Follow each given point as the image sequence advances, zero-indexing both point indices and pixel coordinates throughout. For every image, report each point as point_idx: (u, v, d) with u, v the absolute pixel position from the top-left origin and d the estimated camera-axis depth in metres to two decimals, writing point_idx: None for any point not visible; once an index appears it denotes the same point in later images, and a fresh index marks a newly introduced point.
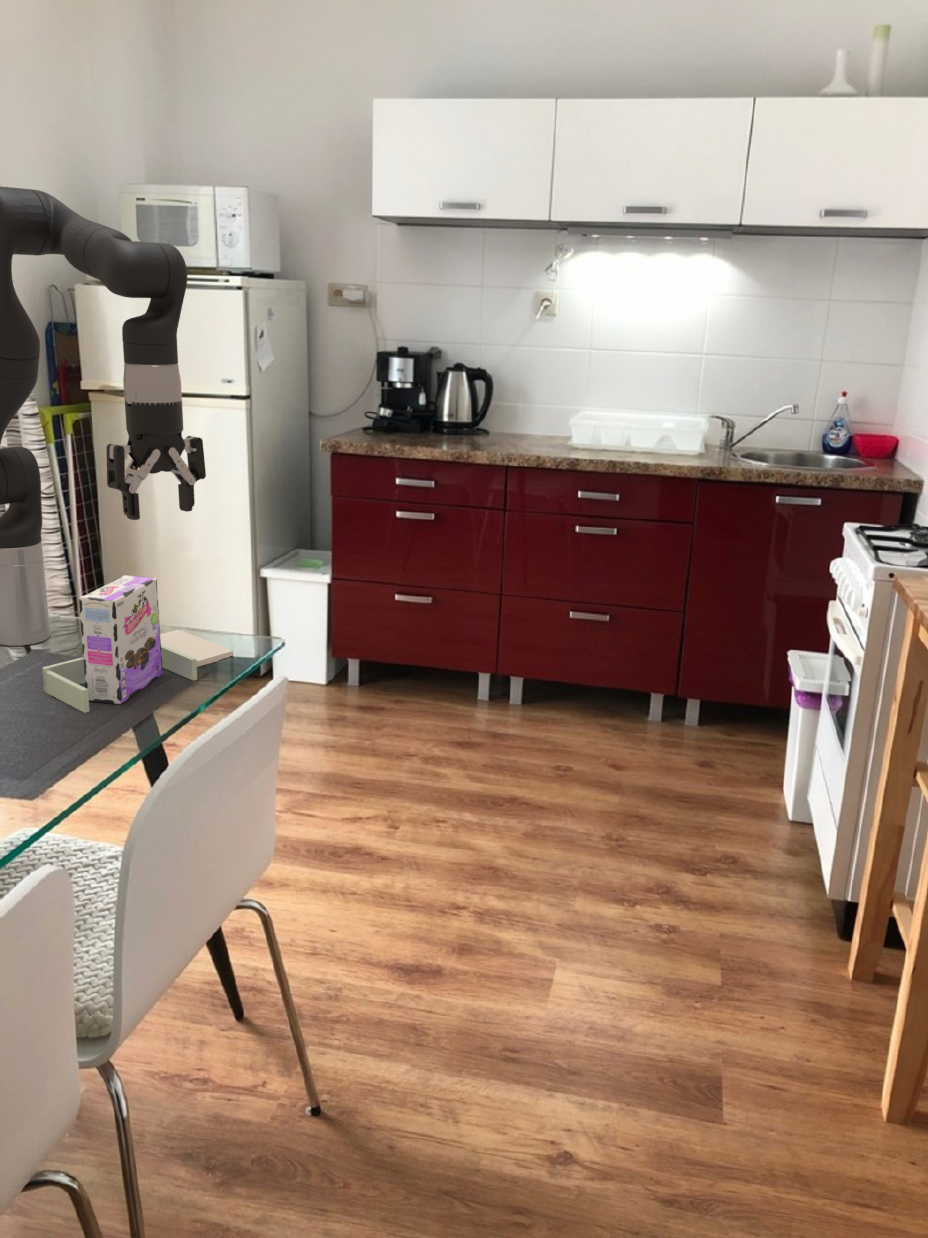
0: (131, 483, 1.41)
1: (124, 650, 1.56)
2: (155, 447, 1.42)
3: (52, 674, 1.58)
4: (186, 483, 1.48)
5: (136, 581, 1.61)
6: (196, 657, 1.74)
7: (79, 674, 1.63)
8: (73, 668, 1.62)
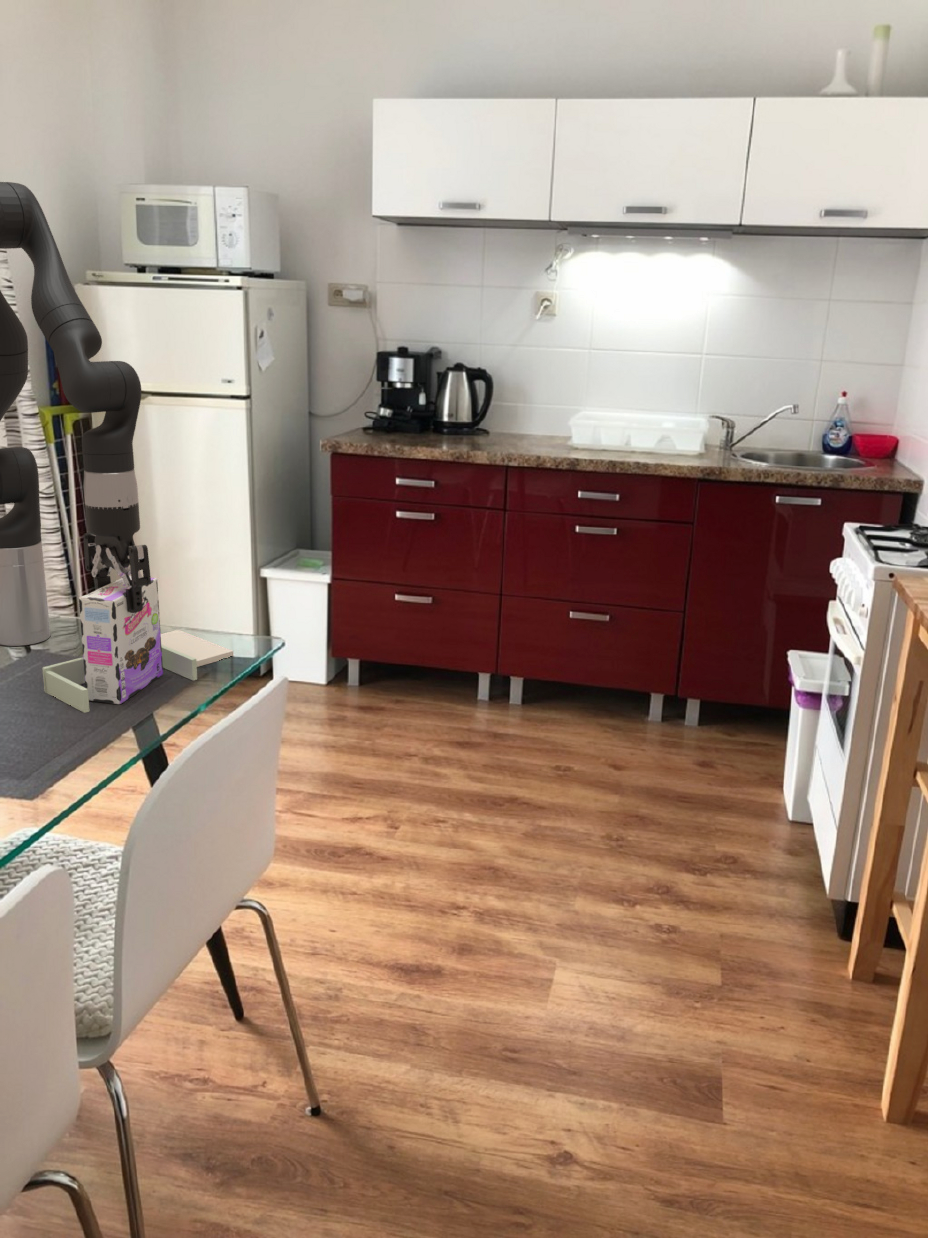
0: (141, 577, 1.55)
1: (124, 650, 1.56)
2: None
3: (52, 674, 1.58)
4: (106, 574, 1.60)
5: None
6: (196, 657, 1.74)
7: (79, 674, 1.63)
8: (73, 668, 1.62)
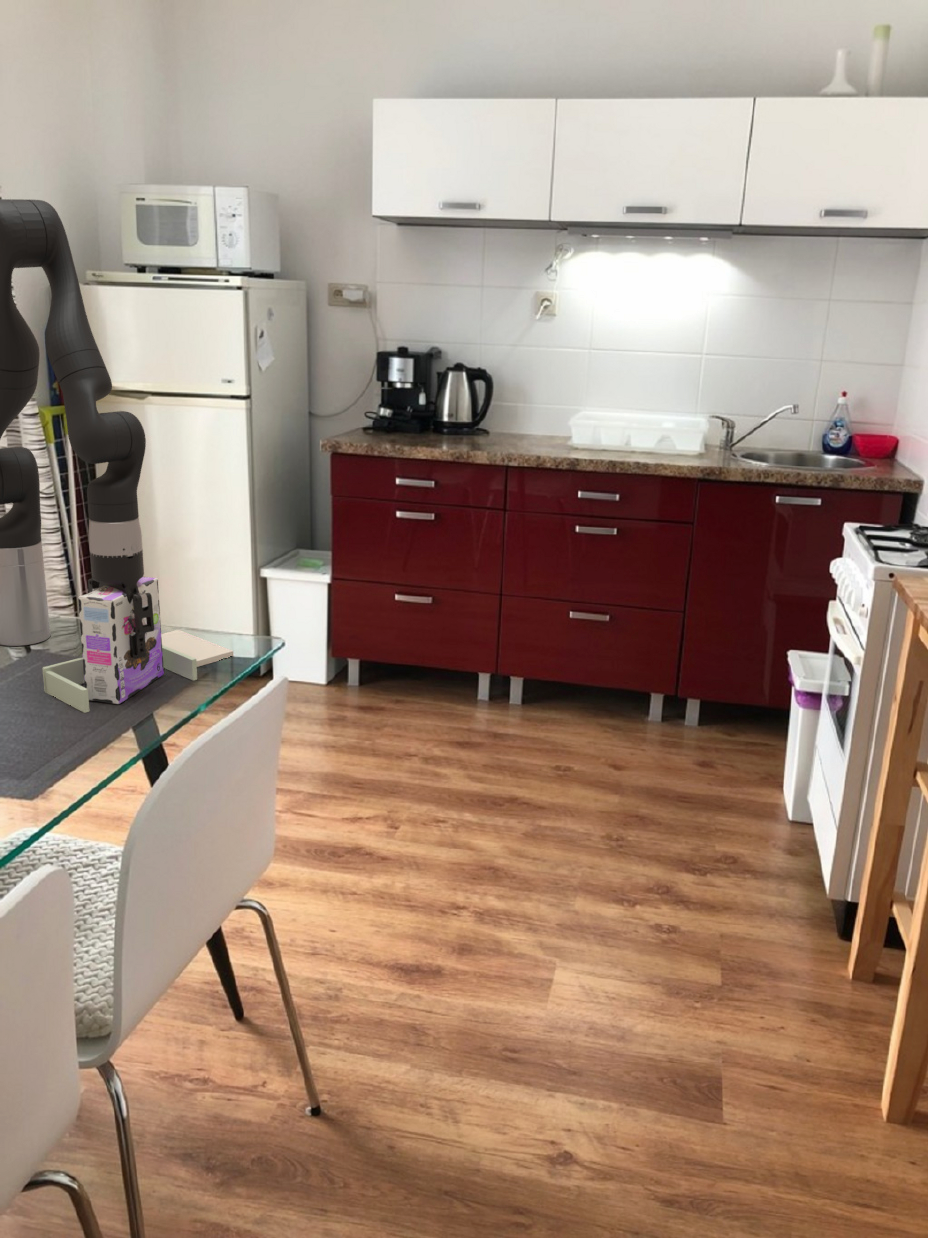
0: (145, 624, 1.57)
1: (123, 650, 1.56)
2: None
3: (52, 674, 1.58)
4: None
5: None
6: (196, 657, 1.74)
7: (79, 674, 1.63)
8: (73, 668, 1.62)
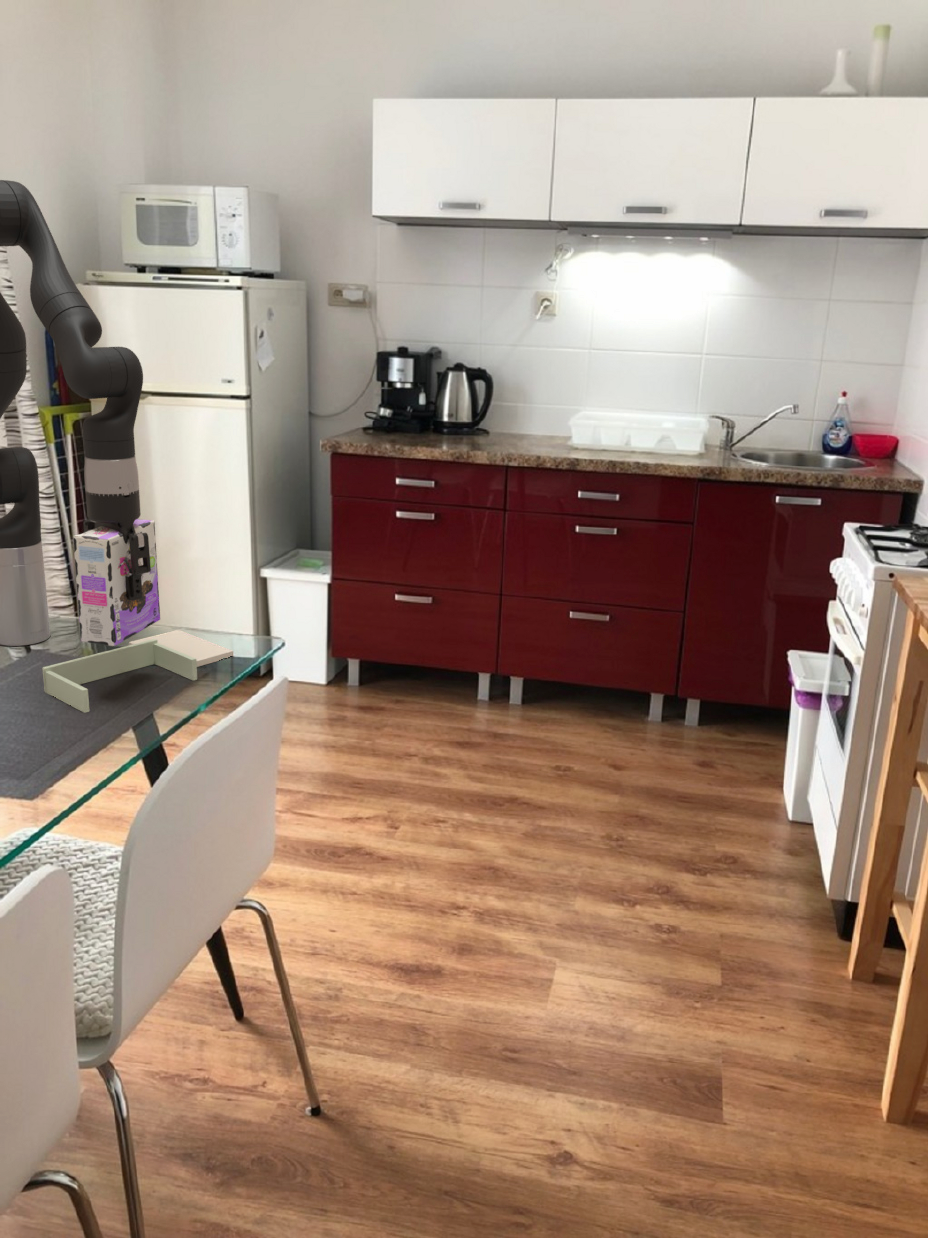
0: (141, 565, 1.55)
1: (119, 591, 1.53)
2: None
3: (52, 674, 1.58)
4: None
5: (133, 523, 1.58)
6: (196, 657, 1.74)
7: (79, 674, 1.63)
8: (73, 668, 1.62)
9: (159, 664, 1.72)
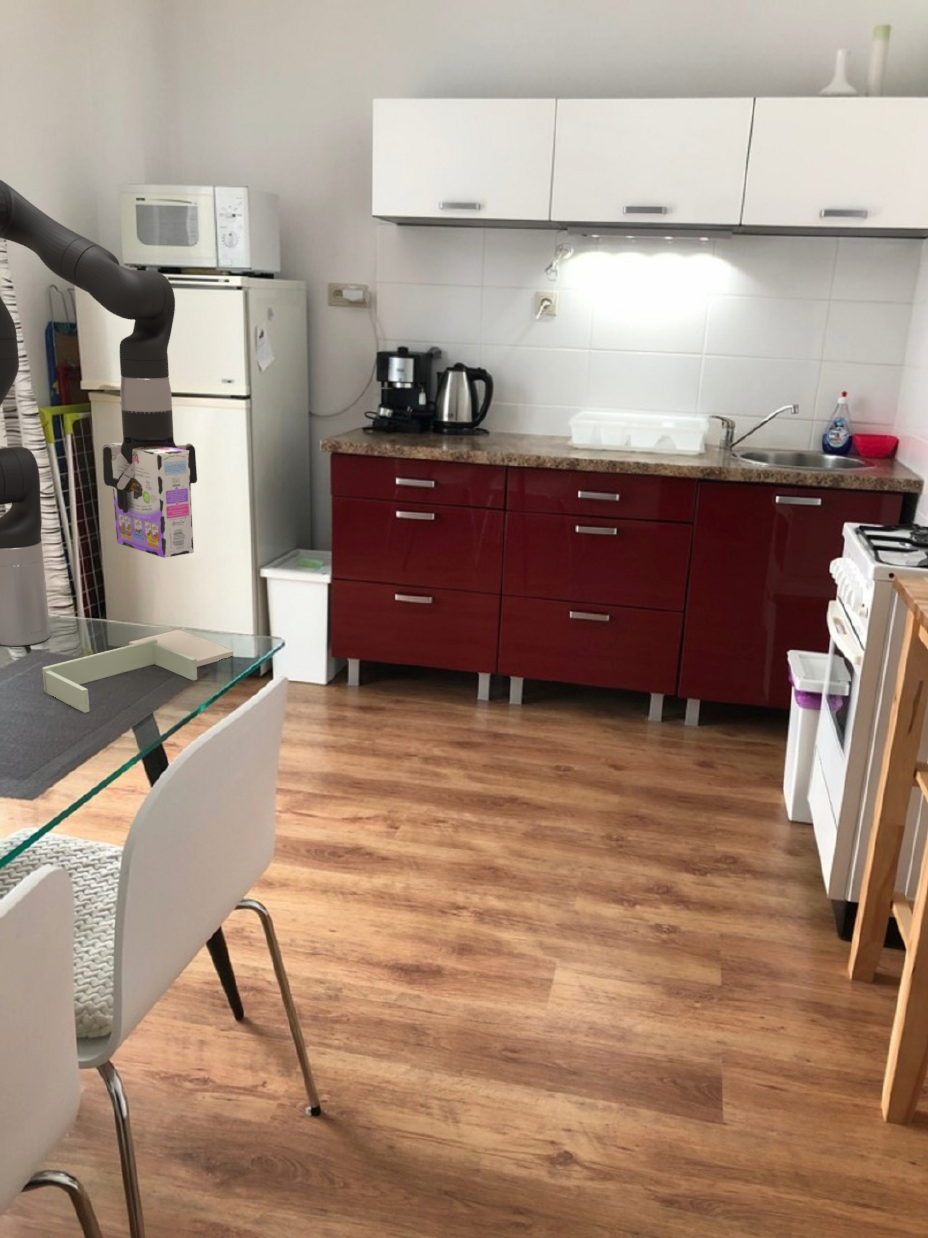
0: None
1: None
2: None
3: (52, 674, 1.58)
4: None
5: None
6: (196, 657, 1.74)
7: (79, 674, 1.63)
8: (73, 668, 1.62)
9: (159, 664, 1.72)
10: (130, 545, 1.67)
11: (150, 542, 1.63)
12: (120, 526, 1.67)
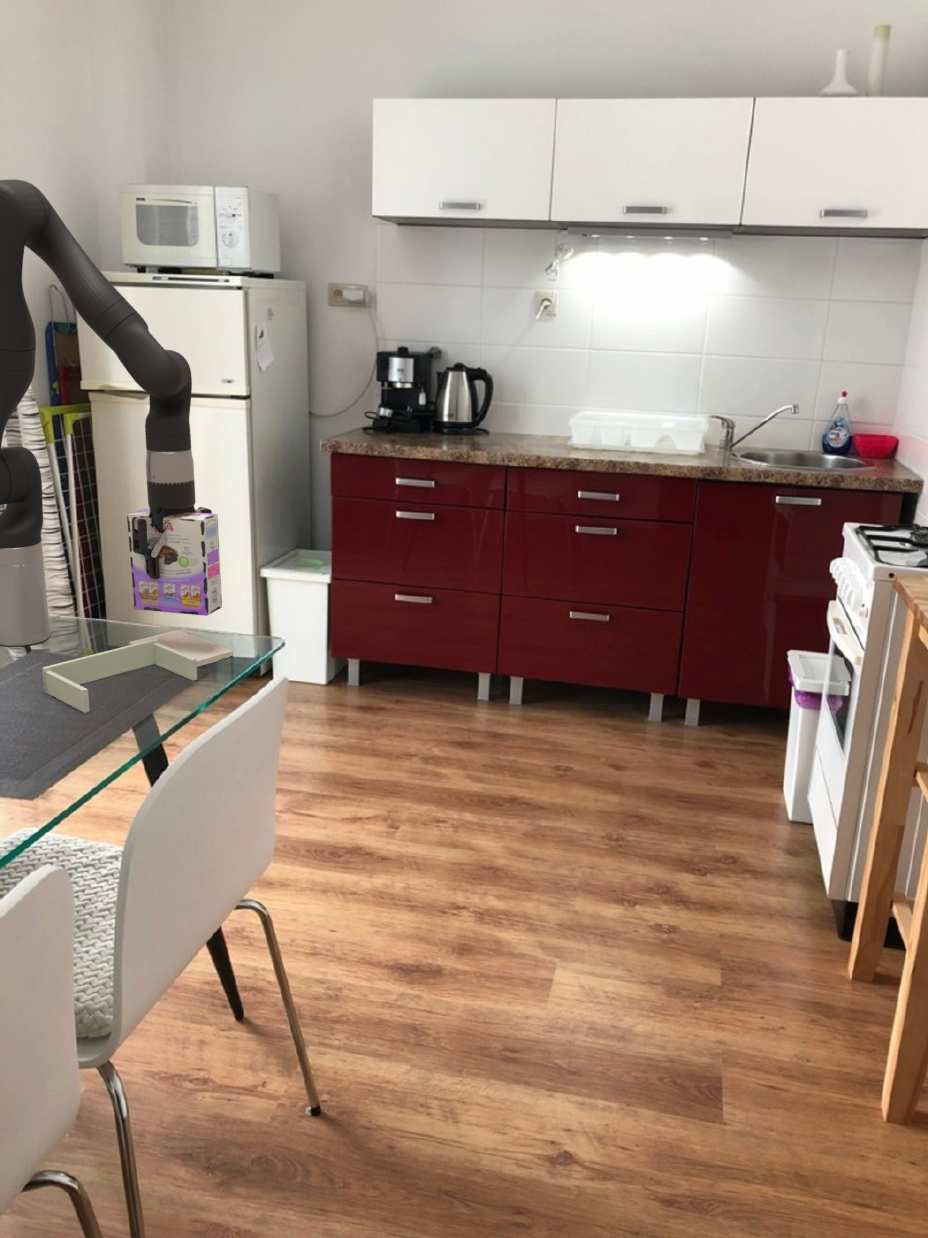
0: None
1: None
2: None
3: (52, 674, 1.58)
4: None
5: None
6: (196, 657, 1.74)
7: (79, 674, 1.63)
8: (73, 668, 1.62)
9: (159, 664, 1.72)
10: (156, 609, 1.74)
11: (188, 603, 1.73)
12: (141, 592, 1.74)
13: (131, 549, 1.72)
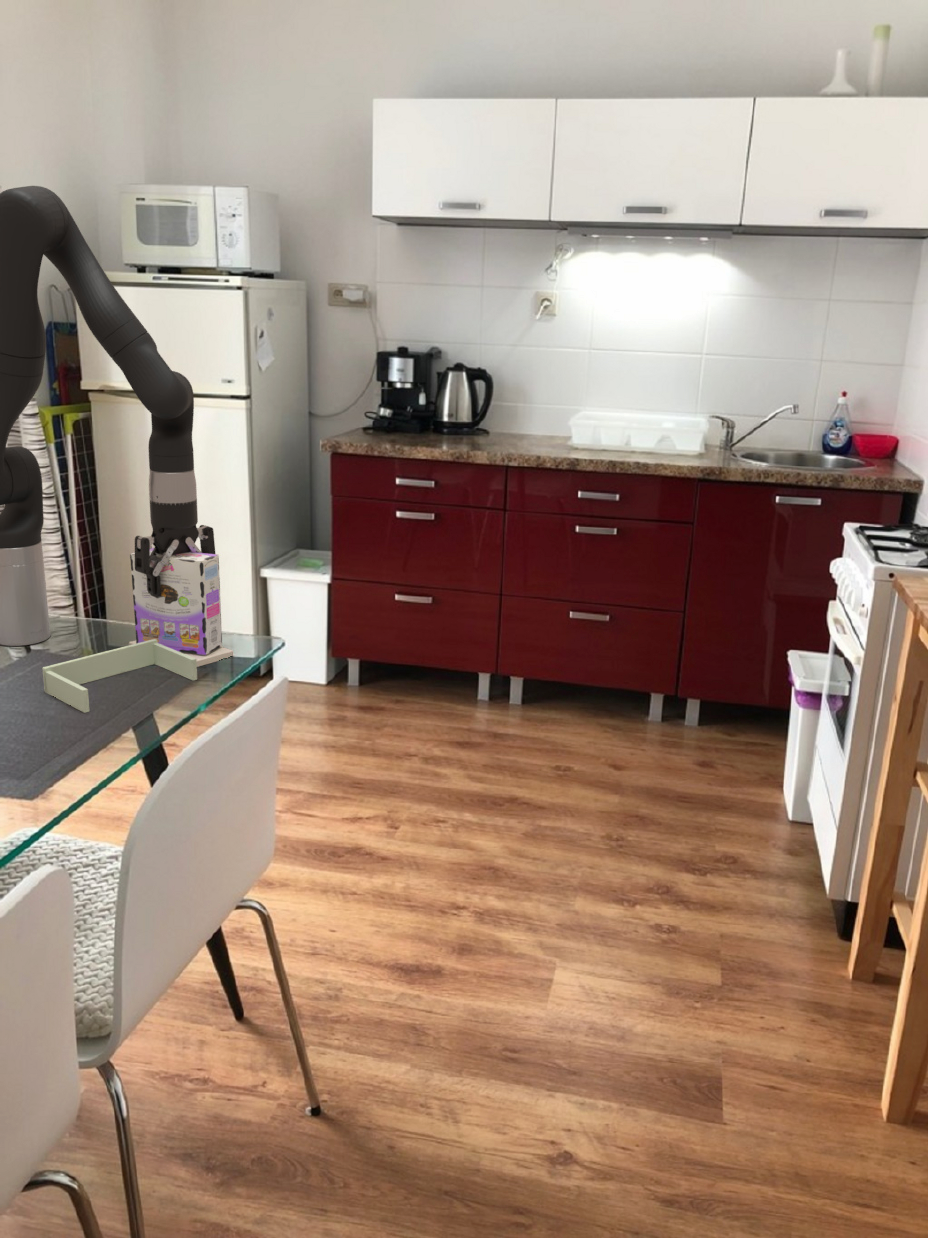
0: None
1: None
2: None
3: (52, 674, 1.58)
4: None
5: None
6: (196, 657, 1.74)
7: (79, 674, 1.63)
8: (73, 668, 1.62)
9: (159, 664, 1.72)
10: None
11: (187, 642, 1.74)
12: (143, 629, 1.77)
13: (134, 587, 1.75)
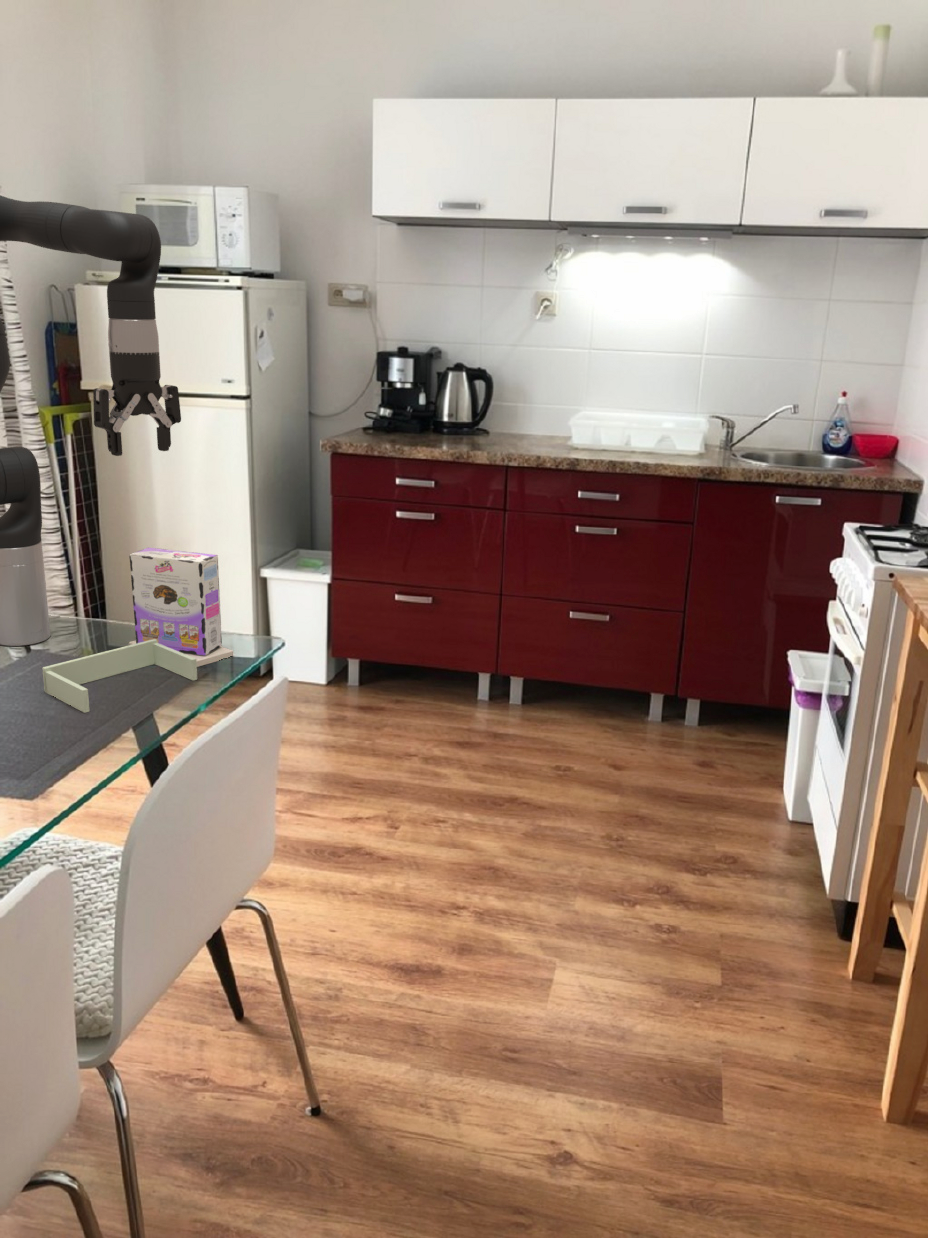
0: None
1: None
2: None
3: (52, 674, 1.58)
4: None
5: (159, 550, 1.76)
6: (196, 657, 1.74)
7: (79, 674, 1.63)
8: (73, 668, 1.62)
9: (159, 664, 1.72)
10: None
11: (187, 642, 1.74)
12: (143, 630, 1.77)
13: (133, 588, 1.75)
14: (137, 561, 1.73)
